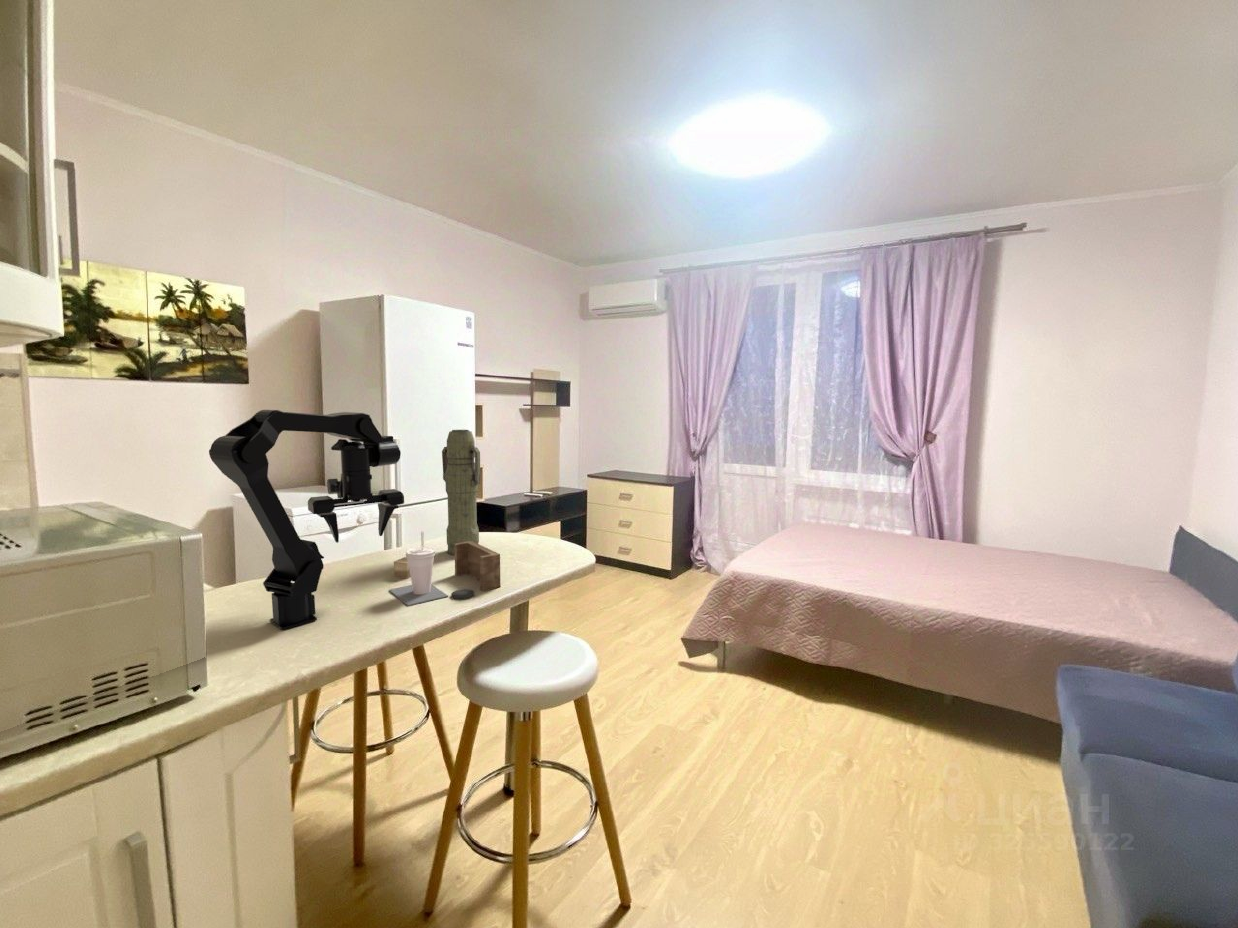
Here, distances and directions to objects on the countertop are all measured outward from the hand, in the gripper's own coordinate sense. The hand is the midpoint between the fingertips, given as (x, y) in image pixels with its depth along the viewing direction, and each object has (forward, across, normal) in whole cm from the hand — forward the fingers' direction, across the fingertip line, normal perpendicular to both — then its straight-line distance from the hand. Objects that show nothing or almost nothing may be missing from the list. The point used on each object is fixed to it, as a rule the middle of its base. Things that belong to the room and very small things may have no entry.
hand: (359, 538), depth 126 cm
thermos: (+13, -33, -19) cm, 40 cm away
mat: (+13, -10, +7) cm, 18 cm away
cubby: (+13, -25, +7) cm, 29 cm away
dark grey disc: (+13, -18, +14) cm, 26 cm away
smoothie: (+13, -11, +7) cm, 18 cm away
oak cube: (+13, -13, -8) cm, 20 cm away
